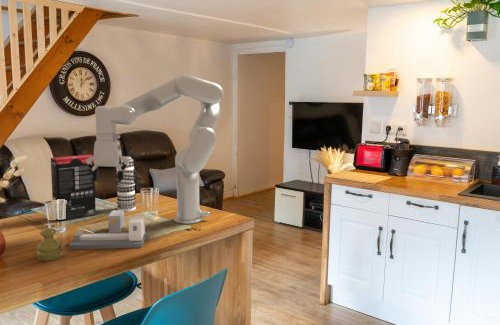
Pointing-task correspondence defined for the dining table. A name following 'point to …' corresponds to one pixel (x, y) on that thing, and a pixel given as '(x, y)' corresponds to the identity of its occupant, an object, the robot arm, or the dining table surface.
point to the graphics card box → (74, 185)
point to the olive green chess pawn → (49, 246)
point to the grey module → (116, 221)
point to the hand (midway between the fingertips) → (108, 180)
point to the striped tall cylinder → (126, 187)
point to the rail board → (113, 237)
